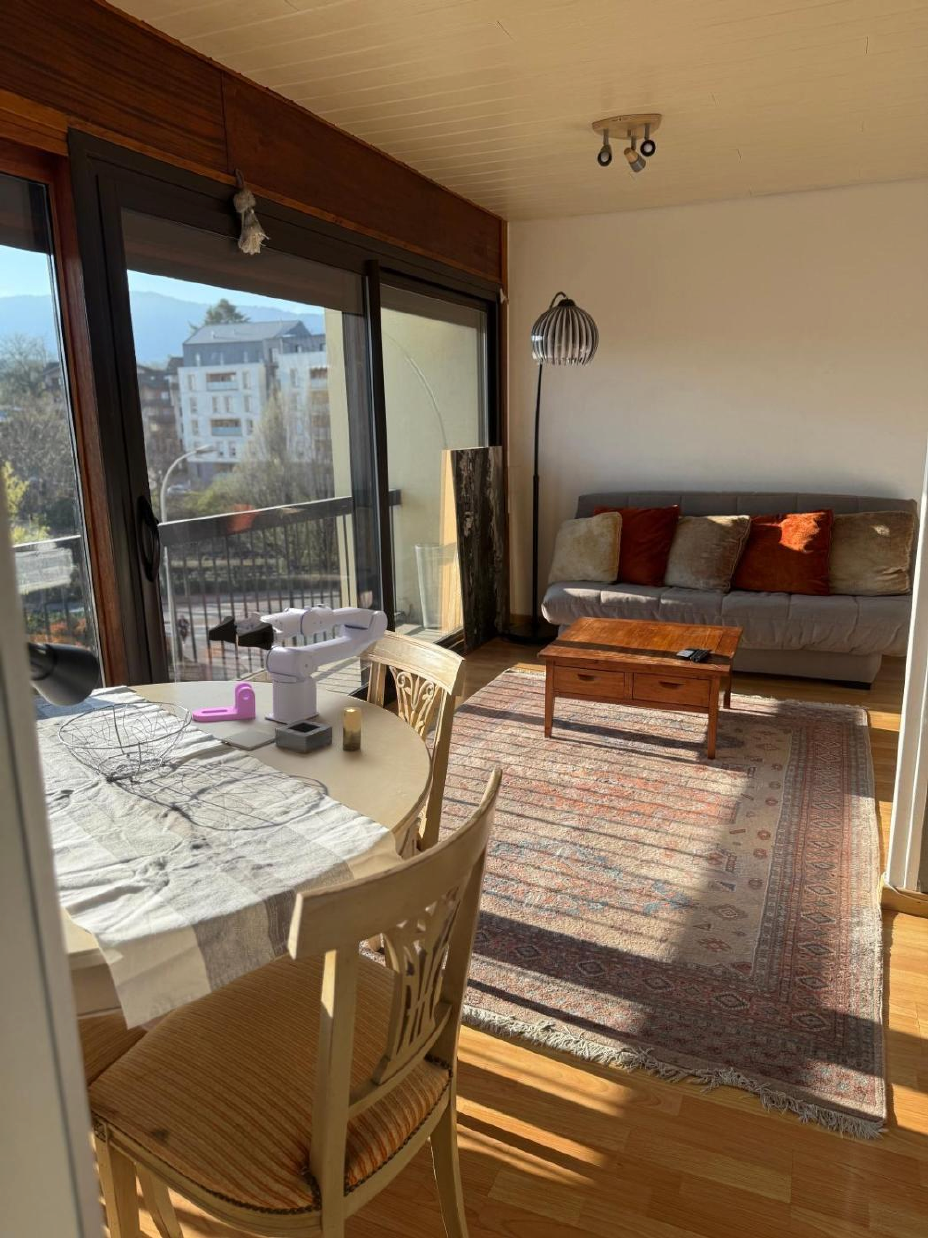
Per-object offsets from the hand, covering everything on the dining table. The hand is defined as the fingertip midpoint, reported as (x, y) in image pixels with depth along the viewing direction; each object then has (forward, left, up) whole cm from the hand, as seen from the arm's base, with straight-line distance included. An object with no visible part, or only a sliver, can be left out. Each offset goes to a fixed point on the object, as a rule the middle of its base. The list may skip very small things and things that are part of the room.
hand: (224, 638), depth 171 cm
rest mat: (-3, +3, -21) cm, 22 cm away
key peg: (-12, +22, -21) cm, 33 cm away
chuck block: (-8, +13, -21) cm, 26 cm away
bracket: (-11, -13, -22) cm, 28 cm away
